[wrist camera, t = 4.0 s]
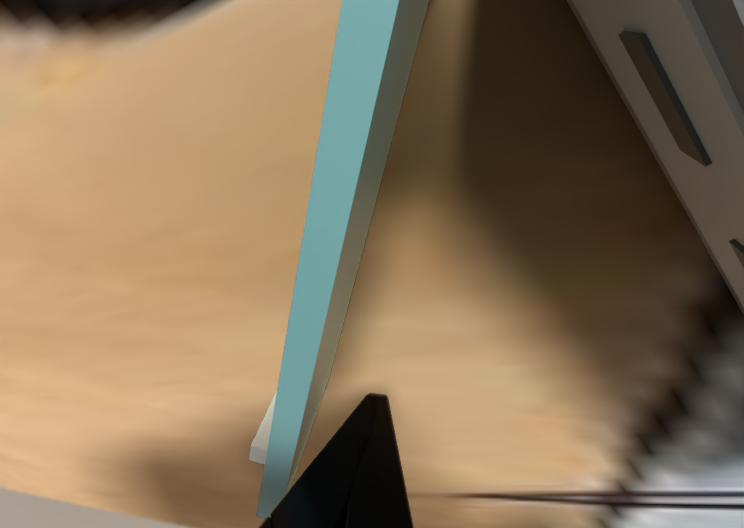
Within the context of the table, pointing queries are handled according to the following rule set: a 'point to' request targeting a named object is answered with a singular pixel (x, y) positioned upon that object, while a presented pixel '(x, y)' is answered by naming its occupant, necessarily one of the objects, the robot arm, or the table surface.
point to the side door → (336, 220)
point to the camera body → (684, 105)
